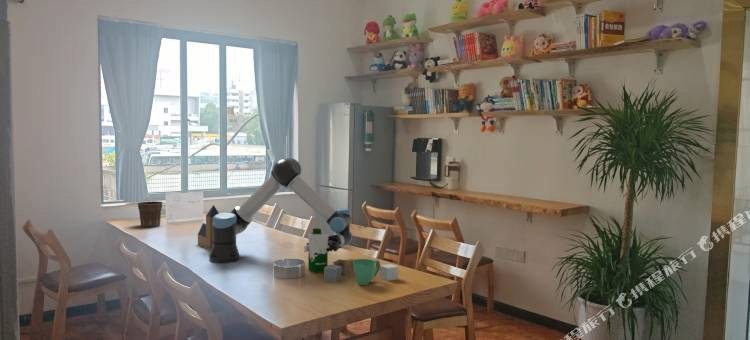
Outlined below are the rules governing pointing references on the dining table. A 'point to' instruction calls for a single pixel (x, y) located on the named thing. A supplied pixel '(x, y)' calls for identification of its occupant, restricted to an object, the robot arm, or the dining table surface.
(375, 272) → the mug
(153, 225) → the plant pot
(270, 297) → the dining table surface
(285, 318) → the dining table surface
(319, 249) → the soya milk
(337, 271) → the slate grey block
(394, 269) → the white cube
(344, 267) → the walnut block
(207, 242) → the toy building blocks
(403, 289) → the dining table surface
